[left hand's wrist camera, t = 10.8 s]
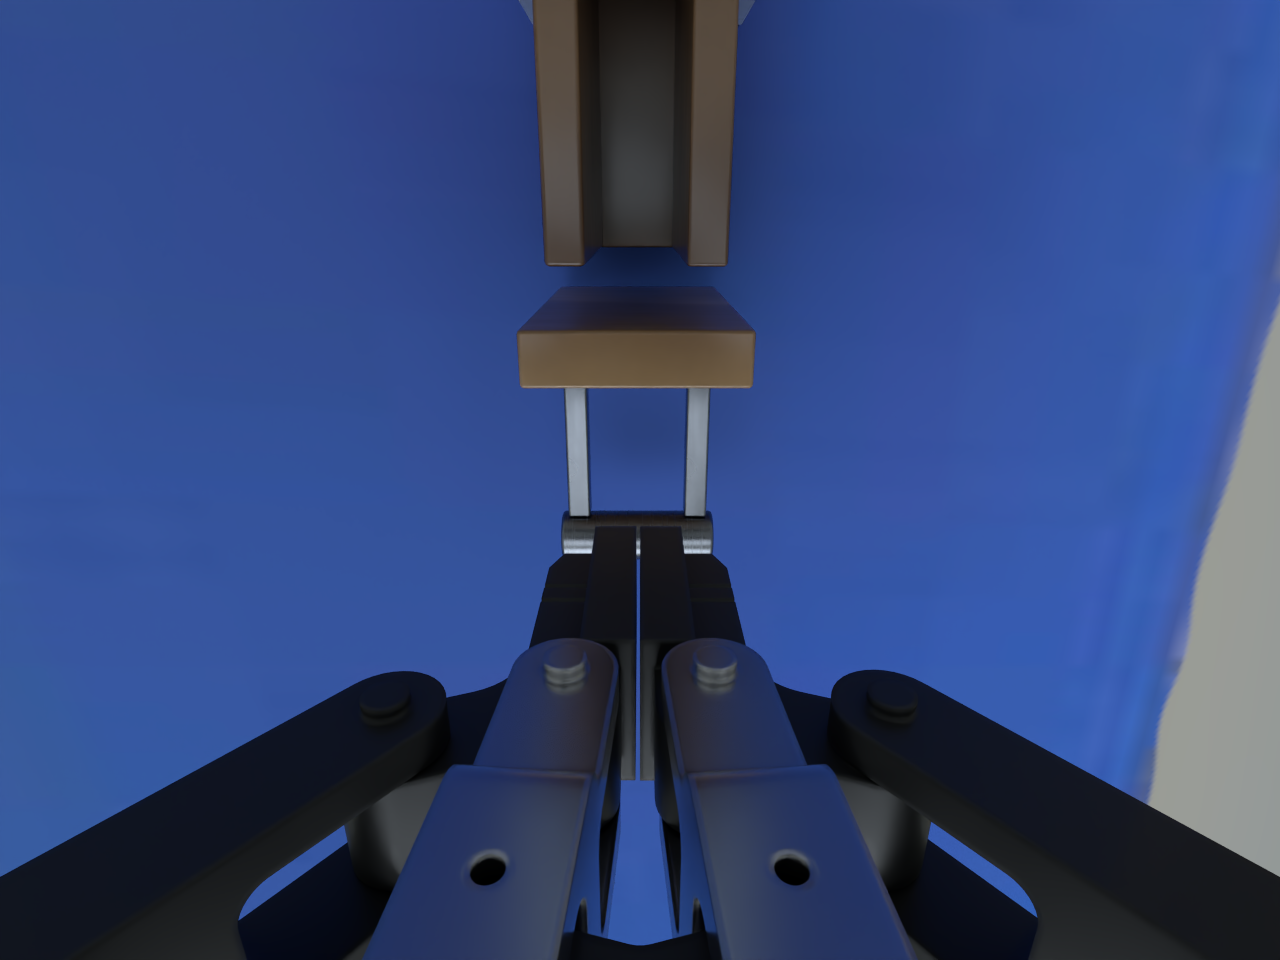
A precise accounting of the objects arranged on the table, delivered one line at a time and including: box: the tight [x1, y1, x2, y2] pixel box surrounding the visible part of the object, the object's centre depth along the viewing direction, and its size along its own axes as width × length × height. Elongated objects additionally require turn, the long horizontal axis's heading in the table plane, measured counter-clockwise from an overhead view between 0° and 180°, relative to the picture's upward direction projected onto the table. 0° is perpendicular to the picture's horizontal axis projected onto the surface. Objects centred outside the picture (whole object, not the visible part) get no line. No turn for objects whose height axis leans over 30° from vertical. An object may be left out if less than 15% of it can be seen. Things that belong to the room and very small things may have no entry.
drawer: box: [517, 0, 756, 559], centre depth 16 cm, size 22×5×8 cm, turn 0°
